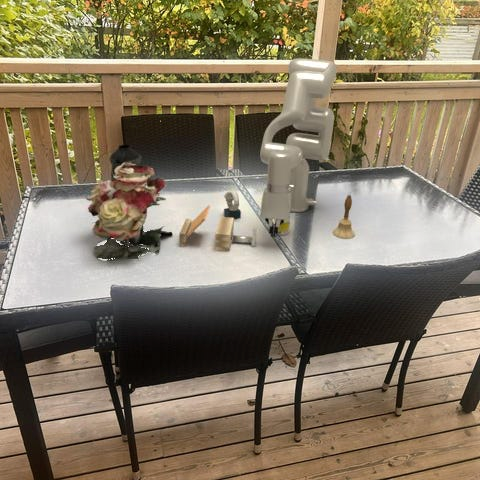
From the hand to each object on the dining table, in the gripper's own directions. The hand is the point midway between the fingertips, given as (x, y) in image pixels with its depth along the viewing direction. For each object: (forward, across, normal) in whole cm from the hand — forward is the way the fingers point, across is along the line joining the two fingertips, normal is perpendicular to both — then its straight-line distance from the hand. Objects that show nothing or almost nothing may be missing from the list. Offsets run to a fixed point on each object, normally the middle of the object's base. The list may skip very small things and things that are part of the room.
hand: (273, 235), depth 162 cm
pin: (+4, +10, 0) cm, 11 cm away
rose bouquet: (+5, +50, +8) cm, 51 cm away
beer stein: (+4, +60, -24) cm, 65 cm away
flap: (-3, +27, 0) cm, 27 cm away
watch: (+4, +17, -21) cm, 28 cm away
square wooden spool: (+5, +24, 0) cm, 24 cm away
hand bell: (+4, -27, -14) cm, 31 cm away
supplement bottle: (+4, -3, -11) cm, 13 cm away
